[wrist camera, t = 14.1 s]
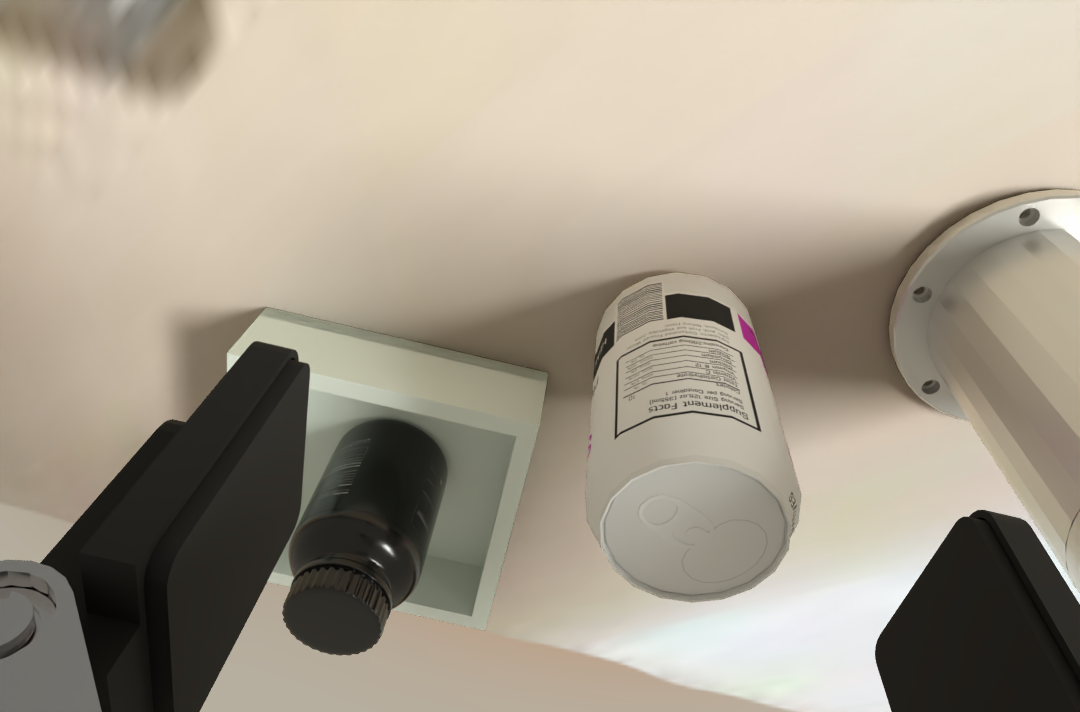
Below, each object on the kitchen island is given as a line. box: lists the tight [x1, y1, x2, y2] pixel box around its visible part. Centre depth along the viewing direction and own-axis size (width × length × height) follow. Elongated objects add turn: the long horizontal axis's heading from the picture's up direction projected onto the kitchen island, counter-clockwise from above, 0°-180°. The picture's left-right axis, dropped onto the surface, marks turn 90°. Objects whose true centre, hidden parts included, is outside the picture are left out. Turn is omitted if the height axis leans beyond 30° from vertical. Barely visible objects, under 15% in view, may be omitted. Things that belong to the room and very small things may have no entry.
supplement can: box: [585, 272, 801, 602], centre depth 35 cm, size 8×8×15 cm
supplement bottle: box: [282, 419, 448, 655], centre depth 42 cm, size 7×7×12 cm
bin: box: [227, 307, 548, 631], centre depth 45 cm, size 16×16×5 cm
